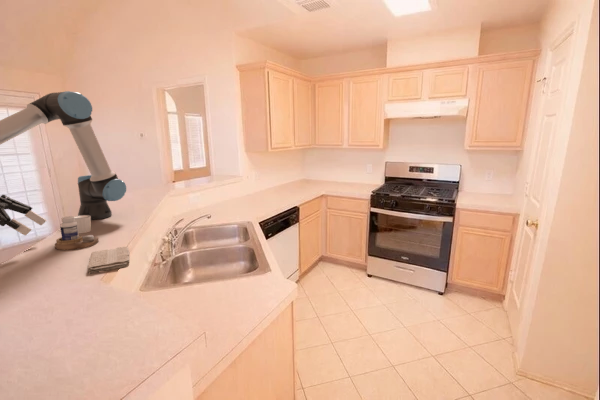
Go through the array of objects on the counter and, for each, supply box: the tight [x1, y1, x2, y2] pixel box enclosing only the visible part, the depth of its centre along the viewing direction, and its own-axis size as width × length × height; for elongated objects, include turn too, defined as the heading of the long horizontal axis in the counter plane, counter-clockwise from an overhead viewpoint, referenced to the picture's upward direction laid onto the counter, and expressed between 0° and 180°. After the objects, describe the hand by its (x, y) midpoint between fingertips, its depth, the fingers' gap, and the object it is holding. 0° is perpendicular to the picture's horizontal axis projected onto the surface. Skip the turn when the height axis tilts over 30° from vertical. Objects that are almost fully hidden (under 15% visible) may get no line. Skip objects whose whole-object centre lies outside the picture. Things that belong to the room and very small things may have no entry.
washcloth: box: [86, 246, 130, 274], centre depth 100 cm, size 12×18×3 cm, turn 33°
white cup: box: [73, 215, 92, 234], centre depth 131 cm, size 7×7×7 cm
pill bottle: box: [59, 215, 80, 241], centre depth 114 cm, size 5×5×10 cm
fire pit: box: [54, 234, 99, 251], centre depth 115 cm, size 14×14×3 cm
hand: (36, 227), depth 110 cm, fingers open, 13 cm apart
